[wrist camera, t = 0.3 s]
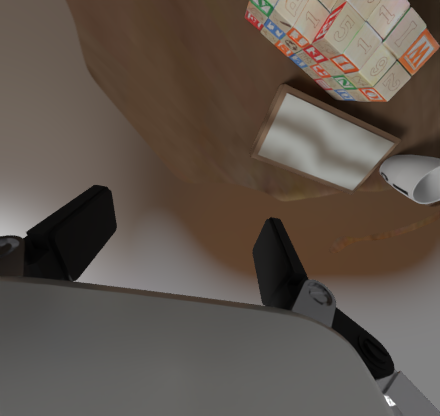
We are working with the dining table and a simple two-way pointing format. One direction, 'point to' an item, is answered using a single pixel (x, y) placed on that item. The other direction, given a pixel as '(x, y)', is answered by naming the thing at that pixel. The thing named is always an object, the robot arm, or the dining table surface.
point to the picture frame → (320, 141)
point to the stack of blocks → (348, 42)
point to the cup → (414, 176)
